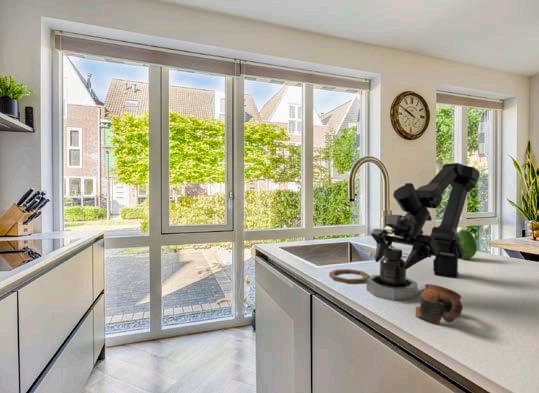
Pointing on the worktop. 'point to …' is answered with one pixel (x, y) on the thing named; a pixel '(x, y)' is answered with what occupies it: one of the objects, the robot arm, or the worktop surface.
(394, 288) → the hub socket
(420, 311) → the pottery mug
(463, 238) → the avocado
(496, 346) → the worktop surface
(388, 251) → the supplement bottle
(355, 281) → the walnut ring
